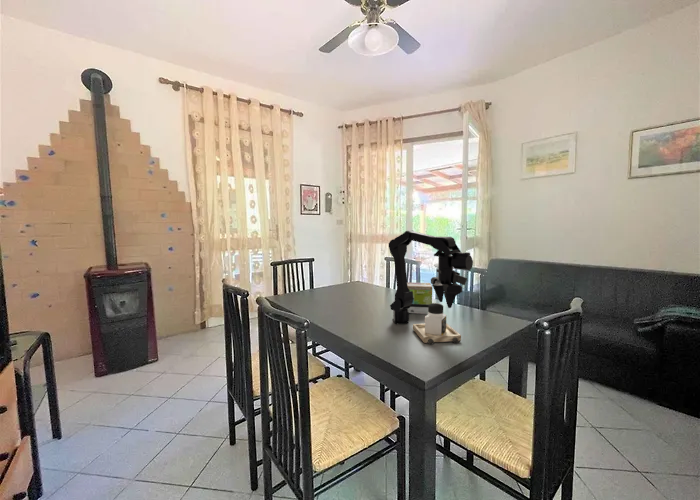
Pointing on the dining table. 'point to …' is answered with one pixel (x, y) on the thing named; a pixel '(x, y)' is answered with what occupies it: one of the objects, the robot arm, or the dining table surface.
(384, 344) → the dining table surface
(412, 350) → the dining table surface
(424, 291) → the tea box
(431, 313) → the medicine bottle
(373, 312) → the dining table surface
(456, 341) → the trolley
